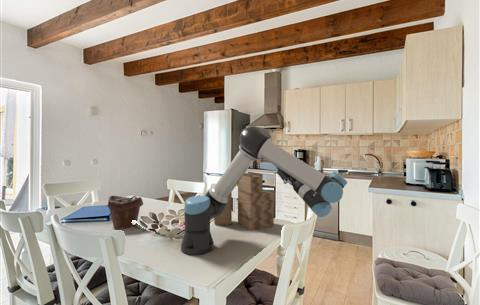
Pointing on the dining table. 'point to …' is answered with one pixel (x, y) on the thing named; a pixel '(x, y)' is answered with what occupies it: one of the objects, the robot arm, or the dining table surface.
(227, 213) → the wooden block
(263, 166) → the slate rail
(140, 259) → the dining table surface
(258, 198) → the walnut stand
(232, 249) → the dining table surface
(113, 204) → the brown pot
